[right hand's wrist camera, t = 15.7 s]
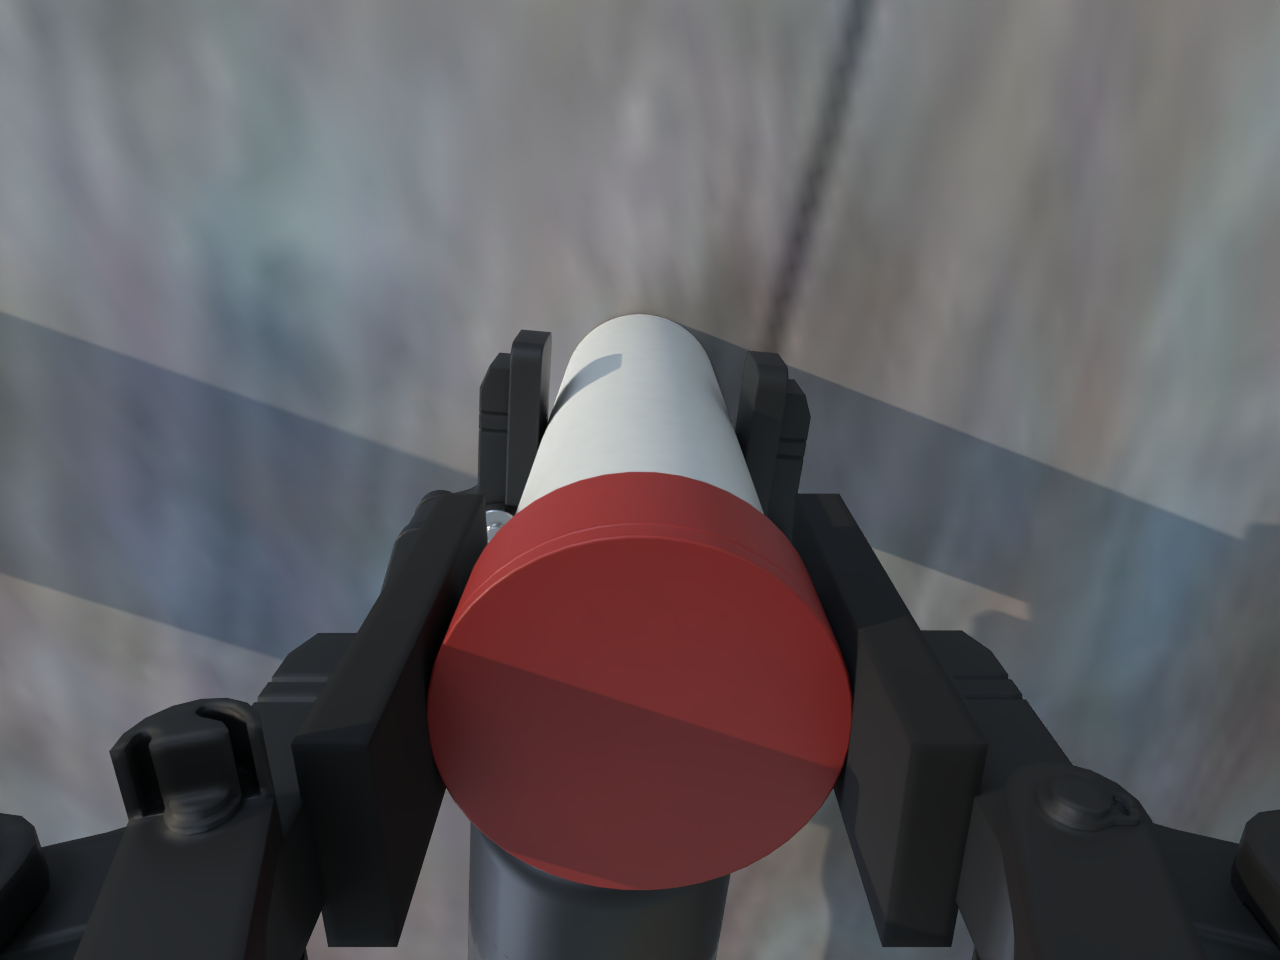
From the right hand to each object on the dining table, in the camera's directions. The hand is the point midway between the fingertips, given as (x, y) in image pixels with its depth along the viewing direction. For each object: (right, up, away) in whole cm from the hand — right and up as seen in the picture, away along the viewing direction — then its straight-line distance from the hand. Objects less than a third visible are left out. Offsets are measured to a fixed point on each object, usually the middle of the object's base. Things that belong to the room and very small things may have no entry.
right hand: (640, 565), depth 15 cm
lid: (0, -1, -4) cm, 4 cm away
